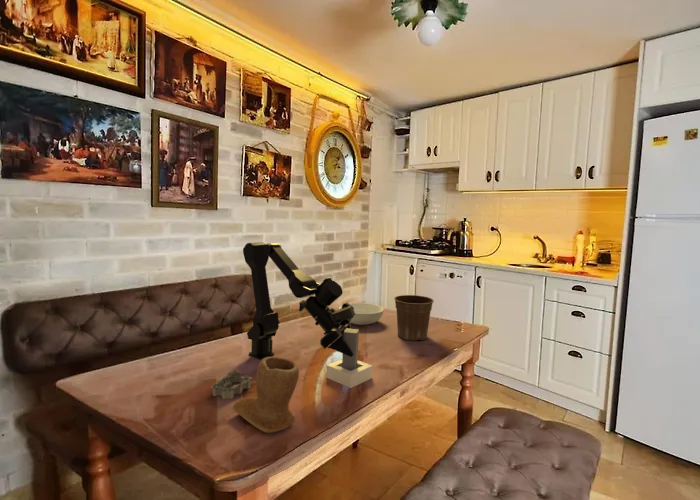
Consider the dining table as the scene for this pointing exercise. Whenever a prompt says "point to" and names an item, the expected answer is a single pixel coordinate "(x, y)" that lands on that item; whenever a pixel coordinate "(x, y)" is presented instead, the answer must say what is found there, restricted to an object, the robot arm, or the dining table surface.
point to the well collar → (349, 373)
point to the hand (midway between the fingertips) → (354, 351)
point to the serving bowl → (365, 313)
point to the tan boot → (271, 395)
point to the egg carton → (226, 388)
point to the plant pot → (413, 316)
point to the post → (352, 341)
